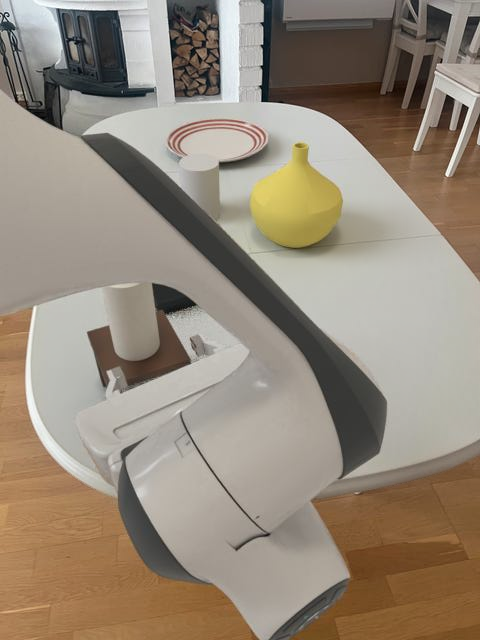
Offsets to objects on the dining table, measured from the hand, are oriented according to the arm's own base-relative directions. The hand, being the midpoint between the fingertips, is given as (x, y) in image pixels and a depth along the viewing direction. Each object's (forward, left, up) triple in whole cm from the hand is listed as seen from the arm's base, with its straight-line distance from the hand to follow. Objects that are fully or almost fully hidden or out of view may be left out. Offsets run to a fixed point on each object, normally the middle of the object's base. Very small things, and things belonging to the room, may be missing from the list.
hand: (156, 355), depth 56 cm
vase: (+41, +40, -19) cm, 60 cm away
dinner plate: (+44, +86, -19) cm, 98 cm away
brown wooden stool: (0, +12, -19) cm, 22 cm away
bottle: (0, +12, -9) cm, 14 cm away
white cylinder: (+27, +56, -19) cm, 65 cm away
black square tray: (+13, +33, -19) cm, 40 cm away
